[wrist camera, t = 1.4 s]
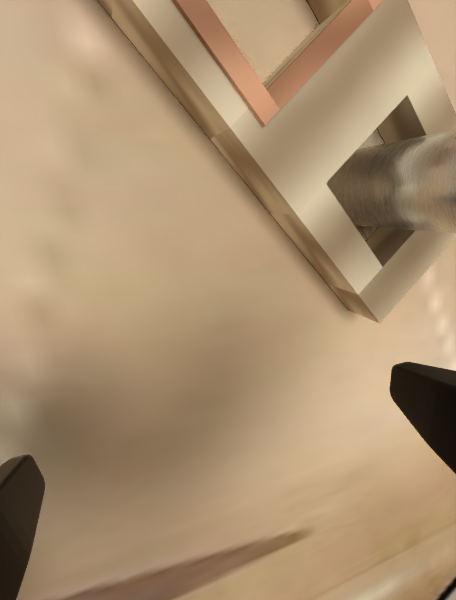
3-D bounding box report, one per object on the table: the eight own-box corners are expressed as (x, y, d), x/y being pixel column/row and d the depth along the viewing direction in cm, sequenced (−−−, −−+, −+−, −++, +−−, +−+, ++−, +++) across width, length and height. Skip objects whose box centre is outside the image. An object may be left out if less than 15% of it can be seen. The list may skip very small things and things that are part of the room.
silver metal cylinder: (374, 230, 23) (659, 257, 11) (319, 218, 21) (588, 236, 10) (393, 159, 22) (725, 110, 10) (337, 141, 20) (659, 56, 9)
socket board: (447, 198, 25) (495, 197, 22) (348, 309, 24) (383, 324, 21) (237, -228, 14) (273, -341, 11) (55, -51, 14) (44, -121, 11)
